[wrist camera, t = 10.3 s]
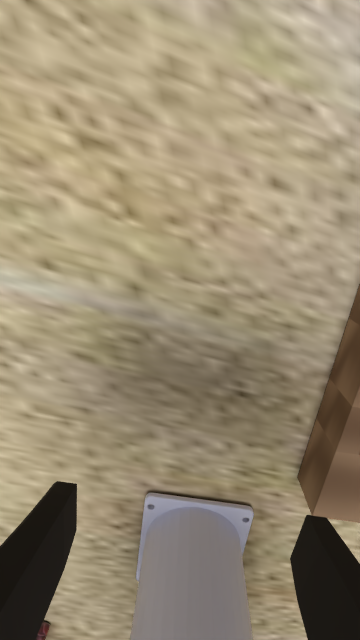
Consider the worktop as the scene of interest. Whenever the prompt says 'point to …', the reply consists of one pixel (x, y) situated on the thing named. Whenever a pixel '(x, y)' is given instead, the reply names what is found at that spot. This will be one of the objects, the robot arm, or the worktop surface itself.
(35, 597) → the robot arm
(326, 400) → the brown wooden peg board
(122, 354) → the worktop surface
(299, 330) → the worktop surface
